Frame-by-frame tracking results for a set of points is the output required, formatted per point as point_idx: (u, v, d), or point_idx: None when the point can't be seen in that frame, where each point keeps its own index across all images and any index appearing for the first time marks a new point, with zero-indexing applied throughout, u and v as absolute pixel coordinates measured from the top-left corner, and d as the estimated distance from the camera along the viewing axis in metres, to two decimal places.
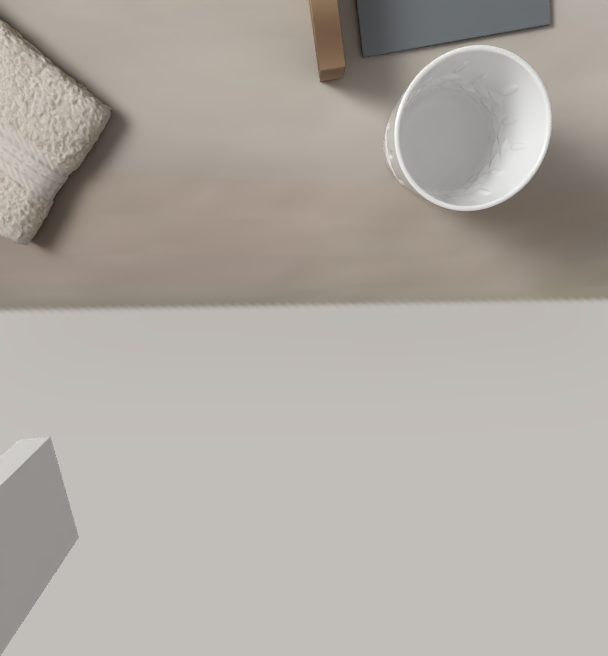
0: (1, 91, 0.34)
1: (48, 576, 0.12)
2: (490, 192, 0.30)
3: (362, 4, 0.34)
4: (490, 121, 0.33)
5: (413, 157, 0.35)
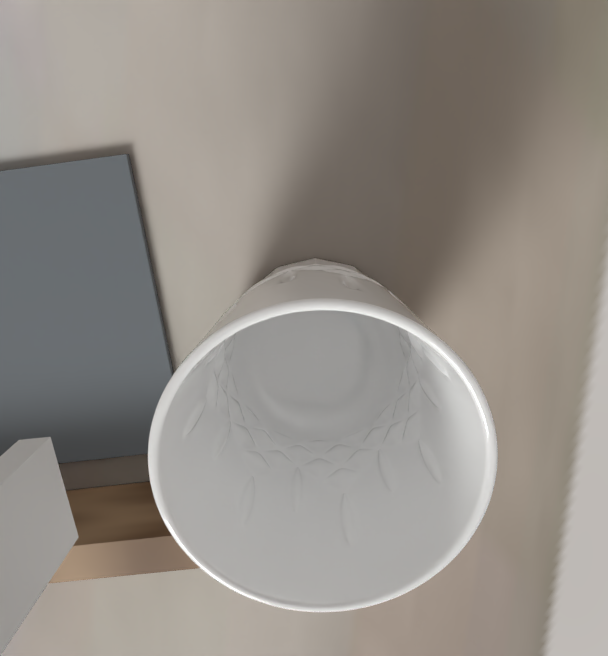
0: None
1: (48, 576, 0.12)
2: (444, 370, 0.13)
3: (116, 450, 0.23)
4: None
5: (341, 393, 0.20)
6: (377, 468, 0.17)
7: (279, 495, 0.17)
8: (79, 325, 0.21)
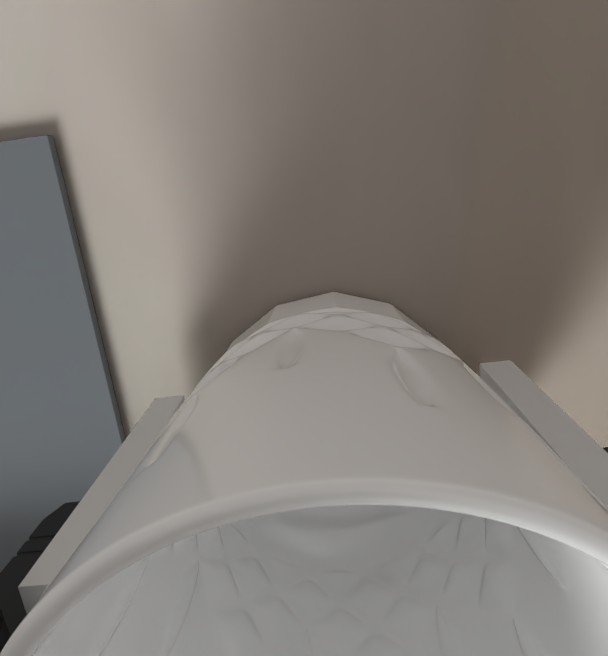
0: None
1: None
2: None
3: None
4: None
5: None
6: (438, 650, 0.10)
7: None
8: None
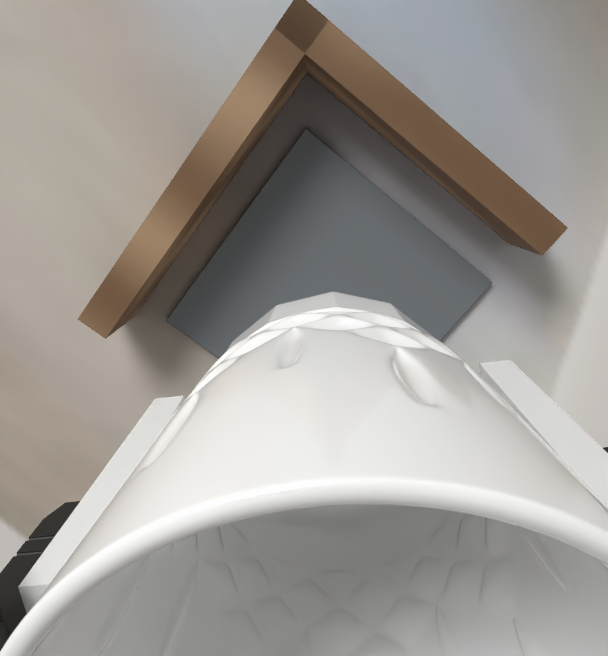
0: None
1: None
2: None
3: (203, 280, 0.28)
4: None
5: None
6: (438, 650, 0.10)
7: None
8: None
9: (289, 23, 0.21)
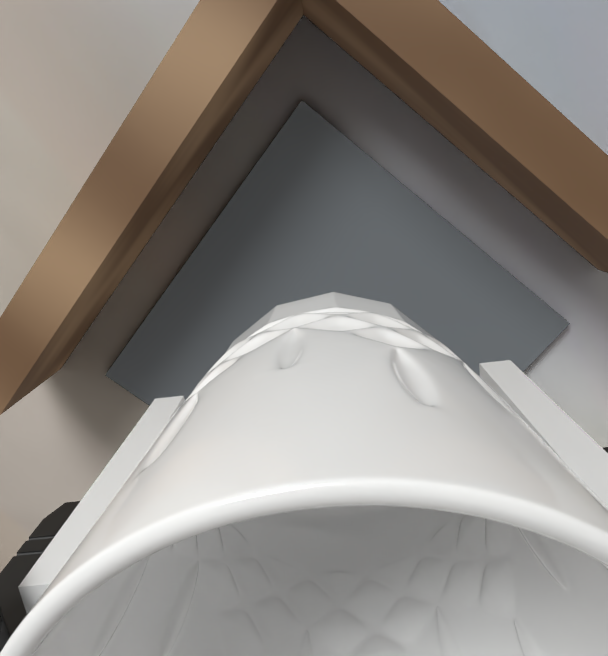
0: None
1: None
2: None
3: (155, 319, 0.19)
4: None
5: None
6: (438, 651, 0.10)
7: None
8: None
9: None
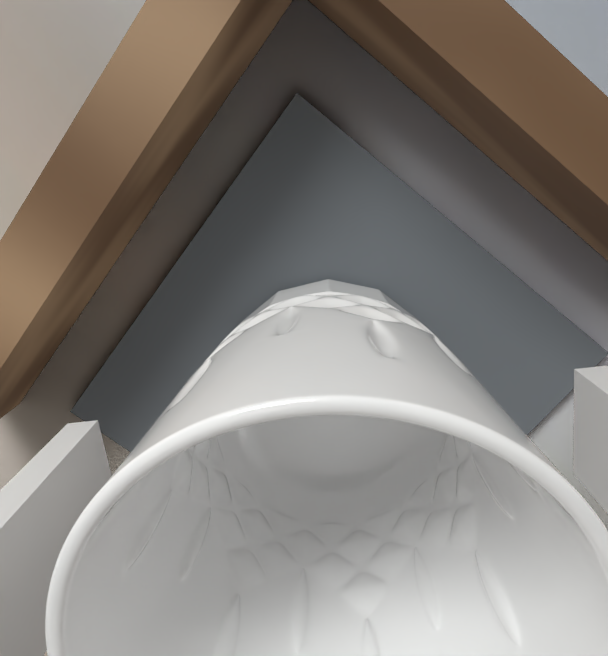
0: None
1: None
2: (531, 482, 0.08)
3: (128, 348, 0.17)
4: None
5: (362, 458, 0.15)
6: (413, 581, 0.12)
7: (275, 622, 0.12)
8: None
9: None
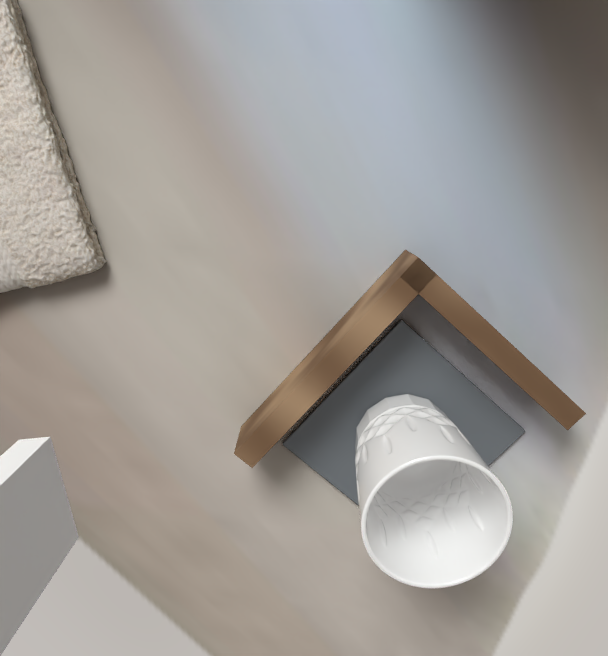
0: (9, 191, 0.31)
1: (48, 576, 0.12)
2: (488, 479, 0.29)
3: (314, 417, 0.37)
4: None
5: (419, 471, 0.36)
6: (444, 518, 0.33)
7: (394, 530, 0.32)
8: None
9: (410, 274, 0.31)
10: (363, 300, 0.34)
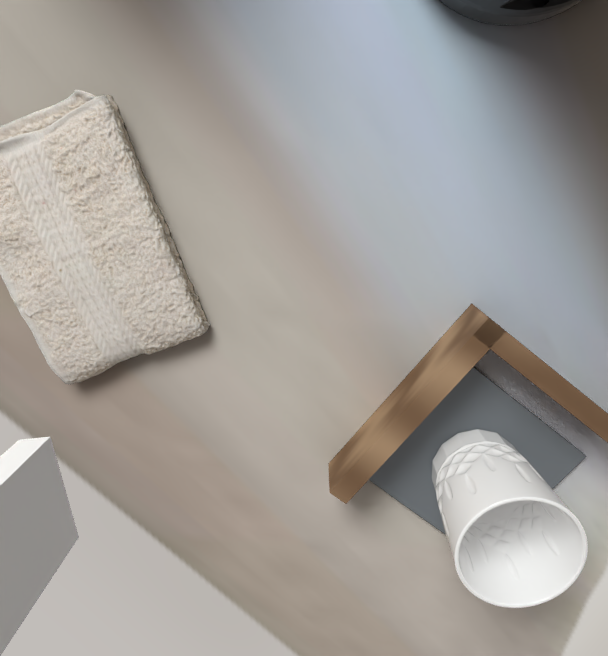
0: (127, 276, 0.36)
1: (48, 576, 0.12)
2: (562, 511, 0.33)
3: (394, 453, 0.41)
4: None
5: None
6: (520, 542, 0.37)
7: (477, 555, 0.37)
8: None
9: (482, 332, 0.35)
10: (436, 351, 0.38)
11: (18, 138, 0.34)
